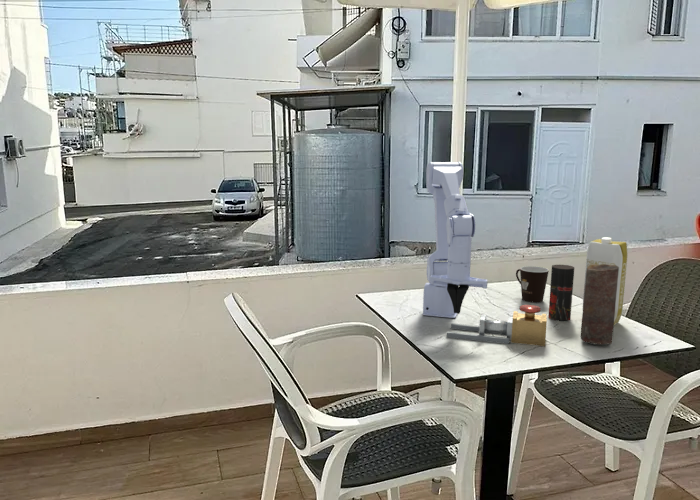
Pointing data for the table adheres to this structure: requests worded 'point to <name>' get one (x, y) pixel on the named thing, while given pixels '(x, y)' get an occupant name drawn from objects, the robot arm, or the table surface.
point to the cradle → (474, 336)
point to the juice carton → (610, 255)
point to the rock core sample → (599, 304)
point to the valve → (529, 326)
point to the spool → (495, 327)
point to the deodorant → (561, 292)
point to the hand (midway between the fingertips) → (457, 312)
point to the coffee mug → (533, 283)
